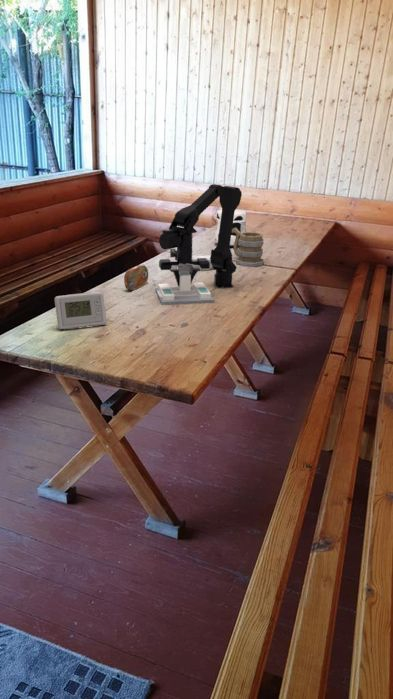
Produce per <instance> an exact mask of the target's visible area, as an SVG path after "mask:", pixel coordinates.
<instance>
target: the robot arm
mask: <svg viewBox="0 0 393 699" xmlns="http://www.w3.org/2000/svg"><path fill="white" fill-rule="evenodd" d="M217 199H219V200H218V202H219V204H220V207H221V210H222V214H221V221H220V229H219V236H218V244H217V243H216V247H215V248H214V249H213V248H212V249H211V250H210V255H211V257H210V259H211V264H212V269H213V271H214V270H215V273H214V277H213V278H214V279H213V282H214V285H215V286H216V287H217V288H233V287H234V286H233V274H234V273H236V272H237V268H238V267H237V265H236V263H234V261H233V254H232V250H231V247H230V240H231V233H232V226H233V219H234V212H235V210H236V209H237V208H238V207H239V206H240V203H241V199H242V191H241V189H240V188H239V187H236V186H229V185H221V184H215V183H212V184H210V185H209V186H208V188H207V189H206V190H205V191H204V192H203V193H201V195H200V196H199V197H198V198H197V199H195V201H193V202H192V203H191V204H190V205H188V206H185V207H183V208H181V209H180V210H178V211H176V213H175V214H174V218H173V219H172V221H171V223H170V225H169V226H168V229H163V230H162V234H160V236H159V238H158V243H159V246H160V248H161V249H162V250H169V251H170V253H169V255H170V258H174V260H175V261H171V259H170V258H167V259H166V258H165V259H162V258H161V259H160V260H159V261H158V267H159V269H160V271H170V272H171V273H173V275H174V278H175V280H176V284H177V287H178V286H179V270H178V267H179V266H190V275H191V284H193V280H194V278H195V277H196V275H197V273H198V272H200V271H201V270H200V269H199V266H200V267H201V268H202V269H209V268H210V262H209V261H208V260H207V259H206V258H197V261H192V255H193V234H196V233H197V232H198V231H197V229H195V225H196V224H197V223H198V222H199V218H200V215H202V214H203V212H205V210H206V209H207V208H209V206H210V205H211V204H213V203H214V202H215V201H216V200H217Z"/></svg>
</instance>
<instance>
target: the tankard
mask: <svg viewBox="0 0 393 699" xmlns="http://www.w3.org/2000/svg"><path fill="white" fill-rule="evenodd" d="M232 233H236V239H235V243H234V247H233V252H234V255H235V256H237V258H236V260H235V265H239V266H241V267H247V268H248V267H250V268H256V267H260V266H263V264H264V259H263V258H262V256H263V253H264V252H263V251H264V249H263V248H262V247H263V246H264V239H263V233H260V232H254V231H246V232H243V233H241V232H240V231H239V230H238V229H237V228H234V229H232ZM238 245H240V246H238Z"/></svg>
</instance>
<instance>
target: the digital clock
mask: <svg viewBox="0 0 393 699" xmlns="http://www.w3.org/2000/svg"><path fill="white" fill-rule="evenodd" d="M104 298H105V297H104V294H103V291H95V292H82V293H81V292H80V293H71V294H66V295H58V296H57V295H56V296H55V297H54V305H55V315H56V320H57V322H56V323H57V328H58V330H60V329H64V330H71V329H70V328H79V327H87V326H96V327H97V326H104V325H106V324H107V322H108V321H107V312H106V306H105V299H104ZM87 328H88V327H87ZM79 329H80V328H79Z"/></svg>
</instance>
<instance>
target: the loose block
mask: <svg viewBox="0 0 393 699" xmlns="http://www.w3.org/2000/svg"><path fill="white" fill-rule="evenodd" d="M177 269H178V270H179V272H189V274H190V266H179V267H177Z"/></svg>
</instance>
